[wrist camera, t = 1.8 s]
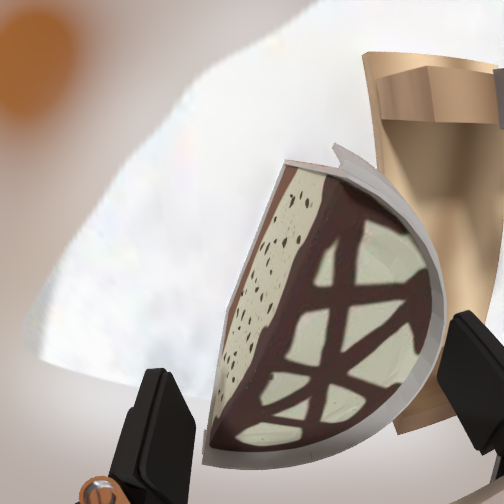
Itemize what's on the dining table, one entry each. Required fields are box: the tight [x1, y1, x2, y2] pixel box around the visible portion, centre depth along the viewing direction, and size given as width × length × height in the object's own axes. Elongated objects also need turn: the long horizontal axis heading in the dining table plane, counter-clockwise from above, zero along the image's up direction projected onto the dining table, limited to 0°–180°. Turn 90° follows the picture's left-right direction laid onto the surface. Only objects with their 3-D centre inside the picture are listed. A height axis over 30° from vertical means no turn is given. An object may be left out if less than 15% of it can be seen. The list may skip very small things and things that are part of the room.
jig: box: [362, 52, 504, 435], centre depth 14 cm, size 9×21×6 cm, turn 10°
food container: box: [202, 143, 447, 470], centre depth 13 cm, size 12×6×10 cm, turn 160°
